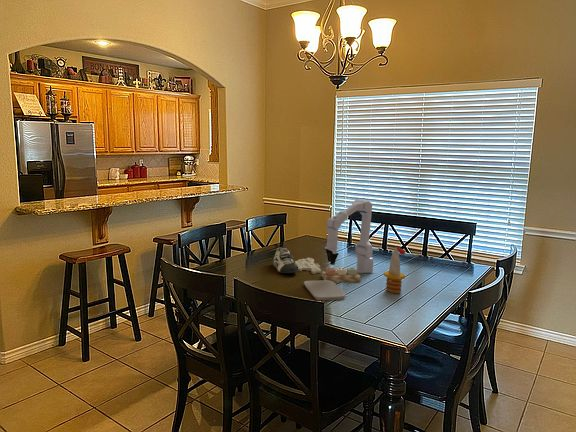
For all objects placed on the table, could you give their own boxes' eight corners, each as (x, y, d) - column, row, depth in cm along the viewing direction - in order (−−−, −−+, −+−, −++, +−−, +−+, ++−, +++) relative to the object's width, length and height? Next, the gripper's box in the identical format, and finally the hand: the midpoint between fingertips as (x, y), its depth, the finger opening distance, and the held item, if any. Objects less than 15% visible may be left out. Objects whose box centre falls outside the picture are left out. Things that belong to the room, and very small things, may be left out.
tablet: (330, 283, 242) (331, 279, 242) (347, 300, 217) (347, 296, 217) (302, 285, 239) (302, 281, 238) (315, 302, 214) (316, 297, 213)
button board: (355, 276, 256) (355, 271, 256) (360, 281, 246) (360, 276, 246) (321, 276, 254) (322, 271, 253) (325, 281, 244) (325, 276, 244)
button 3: (333, 272, 251) (334, 267, 251) (335, 275, 247) (335, 269, 246) (326, 272, 251) (326, 267, 250) (327, 275, 246) (328, 269, 246)
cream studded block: (343, 272, 252) (344, 267, 251) (345, 275, 248) (346, 269, 247) (336, 272, 251) (336, 267, 251) (338, 275, 247) (338, 269, 247)
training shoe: (283, 277, 250) (284, 255, 248) (267, 264, 277) (268, 244, 275) (301, 276, 254) (302, 254, 252) (283, 263, 281) (284, 243, 278)
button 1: (354, 272, 253) (354, 267, 252) (356, 275, 248) (356, 269, 248) (346, 272, 252) (346, 267, 252) (348, 275, 248) (348, 269, 247)
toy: (411, 264, 215) (391, 245, 224) (390, 299, 227) (372, 279, 237) (422, 262, 220) (403, 243, 229) (401, 296, 233) (383, 277, 242)
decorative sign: (290, 258, 286) (312, 257, 289) (289, 261, 286) (312, 260, 289) (300, 271, 256) (325, 270, 259) (300, 275, 257) (325, 274, 260)
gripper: (322, 236, 252) (321, 259, 254) (328, 242, 238) (326, 266, 240) (334, 236, 253) (333, 259, 255) (340, 242, 239) (339, 266, 241)
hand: (331, 263), depth 248 cm, fingers open, 6 cm apart
